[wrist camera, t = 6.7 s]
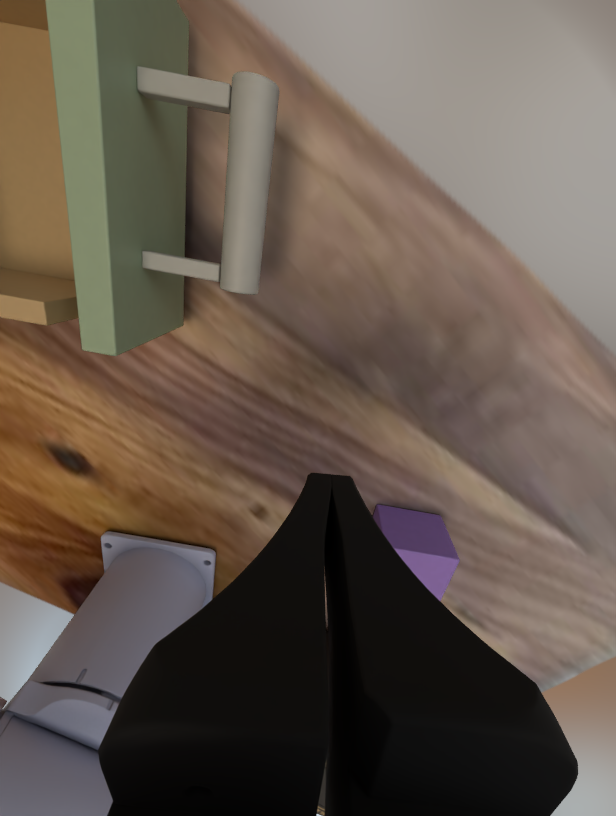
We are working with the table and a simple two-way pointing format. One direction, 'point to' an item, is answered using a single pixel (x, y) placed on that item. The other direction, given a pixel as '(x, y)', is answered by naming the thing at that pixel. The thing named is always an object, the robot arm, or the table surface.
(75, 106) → the drawer
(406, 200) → the table surface
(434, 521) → the cube
